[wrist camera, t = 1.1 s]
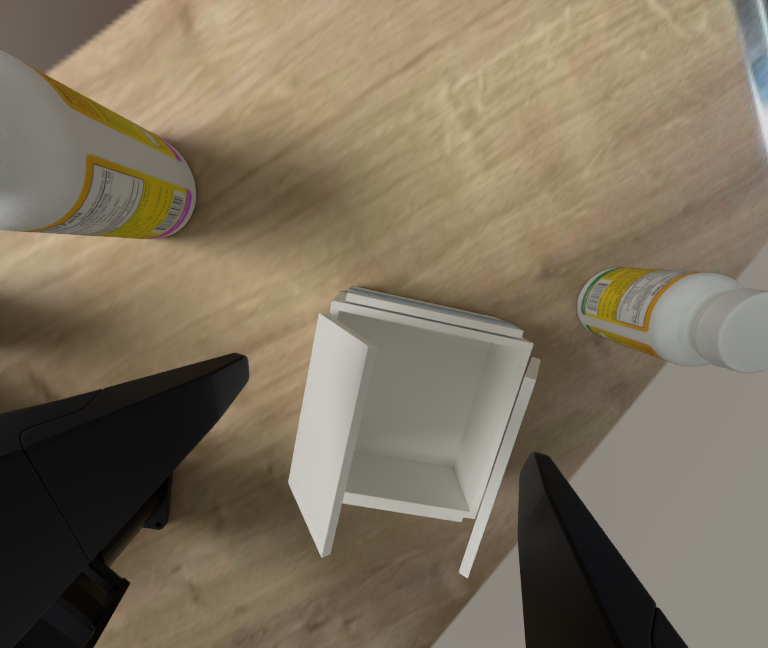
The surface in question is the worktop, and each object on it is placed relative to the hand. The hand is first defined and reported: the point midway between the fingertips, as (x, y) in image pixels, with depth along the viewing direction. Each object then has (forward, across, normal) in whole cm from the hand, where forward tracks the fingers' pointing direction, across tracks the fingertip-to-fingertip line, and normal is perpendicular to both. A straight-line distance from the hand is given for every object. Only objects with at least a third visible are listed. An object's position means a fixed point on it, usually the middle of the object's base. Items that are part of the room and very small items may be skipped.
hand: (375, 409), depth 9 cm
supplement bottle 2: (+20, -13, +1) cm, 23 cm away
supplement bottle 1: (+10, +20, -2) cm, 23 cm away
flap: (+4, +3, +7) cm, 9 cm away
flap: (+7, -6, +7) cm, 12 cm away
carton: (+13, 0, +9) cm, 16 cm away
